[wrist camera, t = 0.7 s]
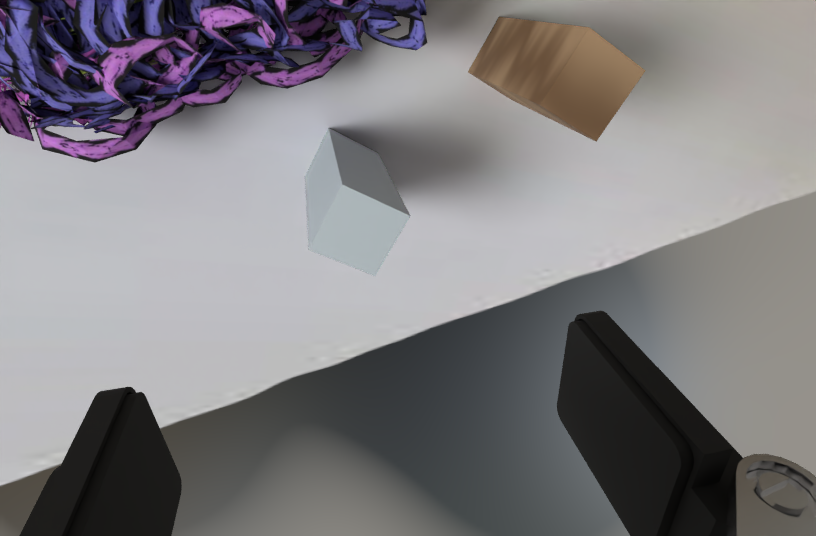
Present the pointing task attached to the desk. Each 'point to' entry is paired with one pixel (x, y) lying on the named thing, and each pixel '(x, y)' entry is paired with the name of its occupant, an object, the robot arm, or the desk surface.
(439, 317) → the desk surface
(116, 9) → the decorative ornament
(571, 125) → the walnut block
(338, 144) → the grey block
